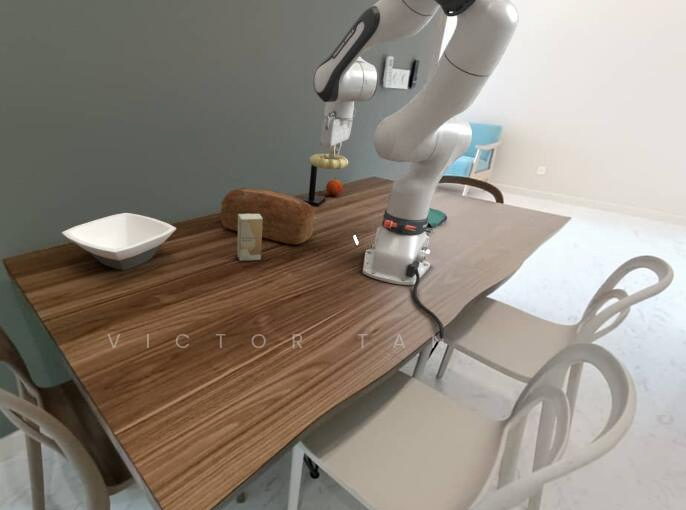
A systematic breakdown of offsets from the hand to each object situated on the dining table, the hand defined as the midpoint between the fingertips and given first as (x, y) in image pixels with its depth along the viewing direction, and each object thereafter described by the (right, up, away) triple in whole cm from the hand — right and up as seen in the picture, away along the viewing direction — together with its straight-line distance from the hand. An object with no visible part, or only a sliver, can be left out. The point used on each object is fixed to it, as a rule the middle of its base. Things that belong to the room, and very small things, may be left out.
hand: (333, 157), depth 128 cm
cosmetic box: (-26, -35, -16) cm, 46 cm away
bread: (-22, -25, 0) cm, 33 cm away
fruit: (+5, -1, +42) cm, 43 cm away
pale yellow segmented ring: (-2, -2, -3) cm, 5 cm away
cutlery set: (+33, -17, +19) cm, 41 cm away
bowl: (-59, -36, -22) cm, 72 cm away
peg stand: (-5, -6, +33) cm, 34 cm away
